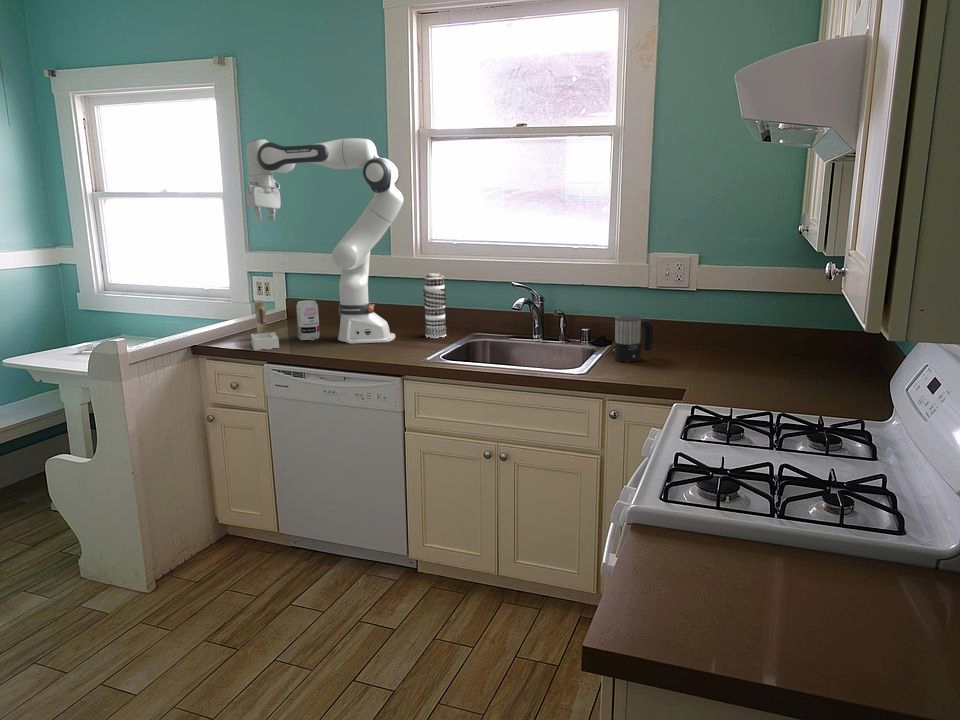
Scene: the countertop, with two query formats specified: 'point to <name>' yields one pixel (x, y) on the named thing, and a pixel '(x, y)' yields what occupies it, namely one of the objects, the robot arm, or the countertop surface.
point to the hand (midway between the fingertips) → (266, 220)
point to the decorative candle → (434, 305)
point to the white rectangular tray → (264, 341)
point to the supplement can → (308, 320)
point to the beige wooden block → (260, 317)
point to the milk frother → (631, 337)
